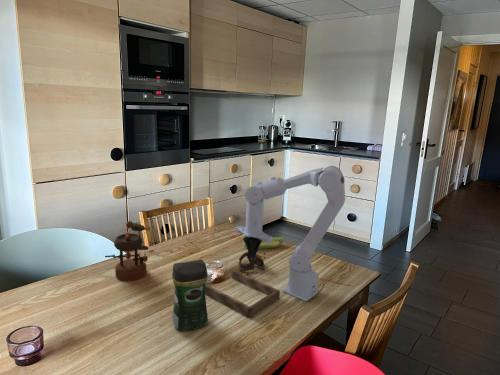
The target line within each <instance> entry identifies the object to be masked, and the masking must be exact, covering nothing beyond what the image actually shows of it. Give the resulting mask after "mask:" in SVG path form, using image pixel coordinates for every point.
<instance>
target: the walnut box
mask: <svg viewBox="0 0 500 375" xmlns="http://www.w3.org/2000/svg"><path fill="white" fill-rule="evenodd" d="M231 279H232V280H233V281H236V282H238V283H240V284H243V285H245V286H246V287H249V288H251V289H253V290H255V291H257V292H259V293H262V294H263V295H265V297H263V298H261V299H259V300H258V301H256V302H255V303H253V304H252V305H250V306H249V305H248V304H246V303H243V302H241V301H240V300H238V299H237V298H233V297H232V296H229V295H228V294H226V293H224V292H222V291H220V290H218V289H216V288H214V287H212V286H210V285H209V284H205V296H208V298H211V299H212V300H215V301H216V302H218V303H220V304H222V305H224V306H225V307H228V308H229V309H231V310H233V311H236V312H237V313H238V314H241V315H243V316H244V317H246V318H248V319H251V318H253V317H255V316H256V315H257V314H258V313H260V312H262V311H263V310H265V309H266V308H268V307H269V306H271V305H272V304H274V303H275V302H276V301H278V300H280V296H281V295H280V293H281V291H280V289H277V288H275V287H272V286H271V285H268V284H267V283H264V282H262V281H259V280H257V279H255V278H253V277H251V276H248V275H245V274H243V273H241V272H239V271H237V270H231Z"/></svg>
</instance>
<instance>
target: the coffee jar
mask: <svg viewBox="0 0 500 375" xmlns="http://www.w3.org/2000/svg"><path fill="white" fill-rule="evenodd" d="M205 263H206V262H204V260H203V259H202V258H200V259H195V260H188V261H182V262H175V263H174V264H173V266H172V274H171V279H172V283H173V284H174V298H173V308H172V309H173V310H172V324H173V326H174V328H176V330H178V331H181V332H185V331H190V330H195V329H199V328H201V327H204V326H206V324H207V323H208V308H207V299H206V295H205V284H206V281H207V278H208V274H207V267H206V264H207V263H206V264H205ZM206 285H207V284H206Z"/></svg>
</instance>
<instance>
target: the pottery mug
mask: <svg viewBox="0 0 500 375" xmlns="http://www.w3.org/2000/svg"><path fill="white" fill-rule="evenodd" d="M245 257H246V258H247V260H248V262H249V263H242V261H243V259H244V258H245ZM255 266H257V267H261V268H262V269H263V272H264V273H265V272H266V268H265V267H266V266H265V262H264V260H263V258H262V257H261V255H259V254H257V253H256V256H255V257H253V258H250V257H249V254H248V251H246V252H244V253H243V254H241V255H240V256H239V258H238V270H239V271H243V272H248V271H251V270H252V271H255V270H256V269H255Z"/></svg>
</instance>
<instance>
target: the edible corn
mask: <svg viewBox="0 0 500 375" xmlns="http://www.w3.org/2000/svg"><path fill="white" fill-rule="evenodd" d="M283 239H284V237H283V236H281V237H280V236H279V237H277V236H276V237H272V242H271V243H269V244H268V243H266V242H265V241H262V242H261V244H260V246H259V248H258V250H263V249H275V248H280V247H281V246H282V245H283V244H284V243H285V241H284V240H283ZM242 246H243V247H244V248H245V249H247V246H246V244H245V242H244V241H243V244H242Z"/></svg>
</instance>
